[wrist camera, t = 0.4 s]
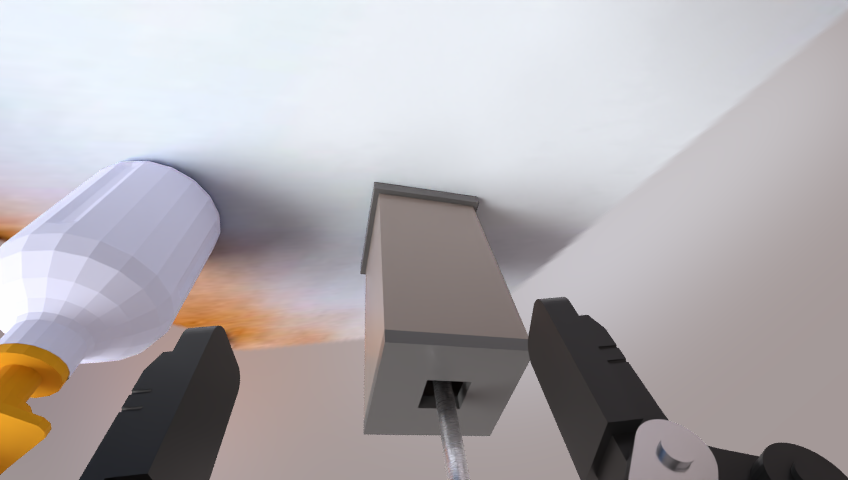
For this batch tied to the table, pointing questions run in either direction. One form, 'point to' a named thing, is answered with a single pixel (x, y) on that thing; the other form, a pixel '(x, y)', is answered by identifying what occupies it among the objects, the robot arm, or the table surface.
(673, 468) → the robot arm
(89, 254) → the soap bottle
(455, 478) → the plunger
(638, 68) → the table surface
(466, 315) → the gray handled box
